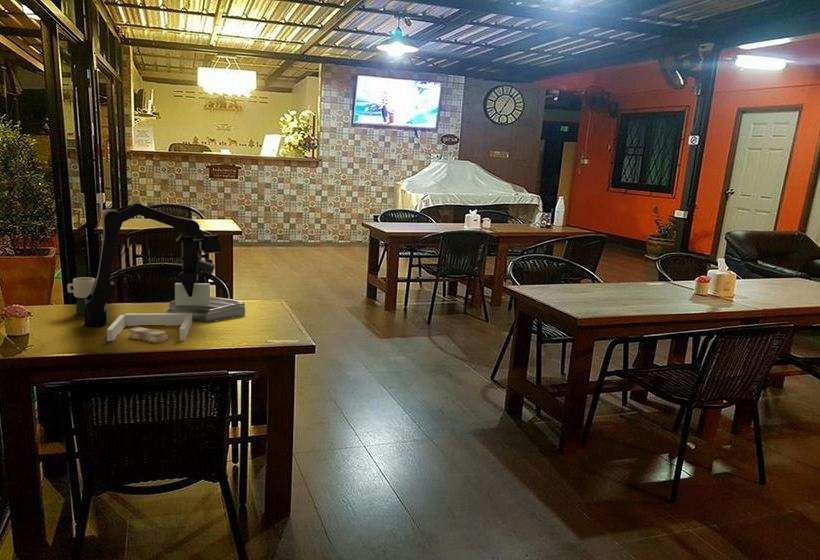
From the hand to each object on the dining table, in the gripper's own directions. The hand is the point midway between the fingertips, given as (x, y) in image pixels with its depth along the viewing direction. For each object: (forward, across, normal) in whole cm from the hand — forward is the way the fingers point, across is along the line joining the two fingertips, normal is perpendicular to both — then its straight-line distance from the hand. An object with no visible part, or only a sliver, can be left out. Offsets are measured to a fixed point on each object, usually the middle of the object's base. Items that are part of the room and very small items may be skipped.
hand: (191, 295), depth 217 cm
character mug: (+8, +4, +37) cm, 38 cm away
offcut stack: (+8, -27, +10) cm, 30 cm away
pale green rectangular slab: (+4, 0, 0) cm, 4 cm away
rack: (+8, -21, +10) cm, 24 cm away
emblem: (+9, +5, -5) cm, 11 cm away
